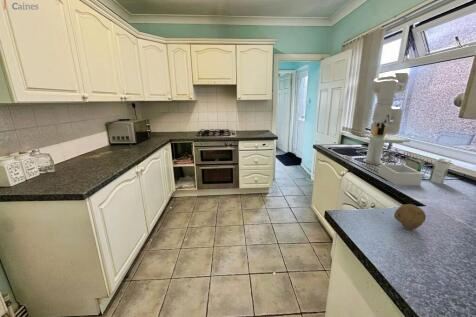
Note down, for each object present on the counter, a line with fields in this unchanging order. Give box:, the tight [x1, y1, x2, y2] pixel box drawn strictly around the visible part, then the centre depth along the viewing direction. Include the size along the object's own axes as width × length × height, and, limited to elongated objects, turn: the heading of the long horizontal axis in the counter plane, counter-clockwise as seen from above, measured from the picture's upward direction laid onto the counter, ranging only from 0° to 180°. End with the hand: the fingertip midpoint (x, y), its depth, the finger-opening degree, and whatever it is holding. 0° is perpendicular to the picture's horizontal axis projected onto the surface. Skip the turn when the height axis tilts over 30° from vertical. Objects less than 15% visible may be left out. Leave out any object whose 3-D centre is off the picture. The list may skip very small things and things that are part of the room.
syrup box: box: [428, 157, 452, 185], centre depth 122 cm, size 6×6×14 cm
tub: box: [378, 163, 424, 186], centre depth 126 cm, size 16×14×8 cm
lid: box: [363, 127, 411, 144], centre depth 119 cm, size 17×15×7 cm
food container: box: [404, 156, 426, 173], centre depth 137 cm, size 12×6×10 cm, turn 179°
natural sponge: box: [394, 203, 427, 230], centre depth 81 cm, size 9×9×10 cm
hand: (378, 134), depth 126 cm, fingers closed on lid
